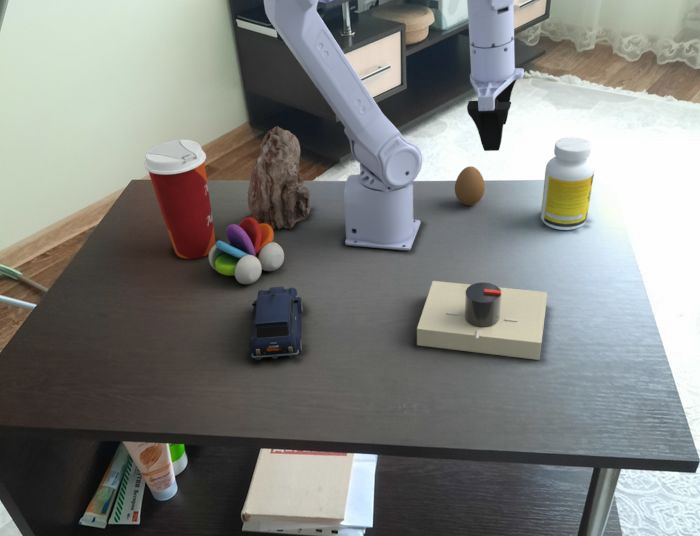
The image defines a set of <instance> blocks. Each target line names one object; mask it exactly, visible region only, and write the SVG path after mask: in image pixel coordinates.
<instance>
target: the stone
mask: <svg viewBox="0 0 700 536" xmlns="http://www.w3.org/2000/svg"><path fill="white" fill-rule="evenodd" d="M259 147H260V155H259V156H258V157H257V159H256V160H255V161H254V163H253V165H252V168H251V173H250V177H249V186H248V188H247V207H248V211H249V212H248V217H250V218H254V219H255V220H256V221H257V222H258V223H259V224H262V223H264V224H268V225H270V226H271V227H272V229H273V230H275V229H277V230H281V229H293V227H294V226H295V224H296V223H297V222H300V221H304V220H306V218H307V217H309V214H310V211H311V206H310V195H311V193H310V189H309V187H308V184H306V183H305V182H304V180H303V179H302V177H301V174H300V170H299V168H300V157H301V145H300V142H299V139H298V138H297V136H296V135H295V134H294V133H291V131H290V130H287V129H283V128H281V127H279V126H278V125H277V126H274V128H271V129H269V130H268V131H267V133H265V135H264V137H263V138H262V141H261V143H260V145H259Z"/></svg>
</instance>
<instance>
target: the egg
mask: <svg viewBox="0 0 700 536" xmlns="http://www.w3.org/2000/svg"><path fill="white" fill-rule="evenodd" d="M485 185H486V184H485V180H484V177H483V175H482V173H481V172H480V171H479V169H478V168H476V167H475V166H466V167H464V168H463V169H462V170H461V171H460V172H459V174H458V175H457V178H456V180H455V183H454V194H455V196H456V198H457V200H458V201H459V202H460V203H461V204H462V205H465V206H473V205H476V204H477V203H479V202H480V200H482V198H483V196H484V194H485V190H486V187H485Z"/></svg>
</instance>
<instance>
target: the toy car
mask: <svg viewBox="0 0 700 536" xmlns="http://www.w3.org/2000/svg"><path fill="white" fill-rule="evenodd" d="M251 306H252V307H253V315H254V320H253V332H252V337H250V338H249V342H248V345H249V355H250V357H251V358H252V359H255V361H261V360H262V359H263V358H272V359H273V360H275V359H278V357H287V356H288V357H289V358H290V359H291V358H296V356H297V355H299V353H302V349H303V346H302V345H303V344H302V330H303V329H302V327H303V326H302V323H303V320H302V319H303V302H302V297H301V296H298V291H297V288H295V287H289V288H285V287H284V286H272V287H271V286H270V287H269V289H267V290H265V289H260V290H258V292H257V296H256V300H254V301H253V303H251Z"/></svg>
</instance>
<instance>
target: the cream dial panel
mask: <svg viewBox="0 0 700 536" xmlns="http://www.w3.org/2000/svg"><path fill="white" fill-rule="evenodd" d="M470 285H471V284H470V283H461V282H460V283H458V282H451V281H449V282H448V281H438V280H432V282H431V284H430V287H429V291H428V293H427V296H426V299H425V302H424V306H423V308H422V312H421V315H420V318H419V322H418V324H417V326H416V346H420V347H429V348H437V349H445V350H454V351H461V352H469V353H476V354H477V353H478V354H487V355H495V356H501V357H502V356H503V357H511V358H519V359H529V360H535V361H540V357H541V350H542V342H543V334H544V325H545V317H546V310H547V309H546V308H547V299H548V292H547V291H540V290H531V289H519V288H511V287H500V286H499V287H498V286H497V287H498V288H499V289H500V290H501V305H500V317H499V321H498V322H497V323H496V324H494V325H492V326H489V327H476V326H473V325H471V324H469V323H468V322H467V321H466V320H465V294H466V289H467V288H468V287H469V286H470Z"/></svg>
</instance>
